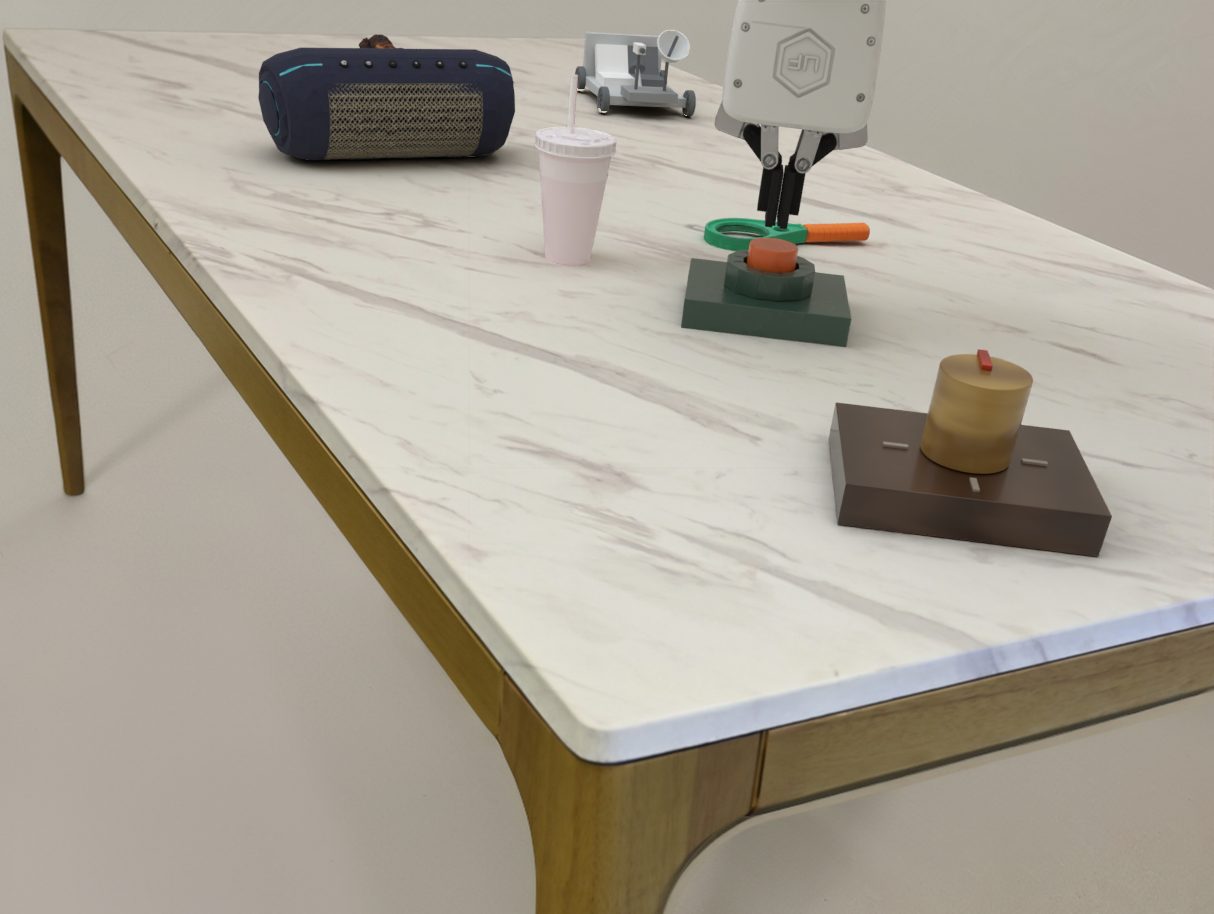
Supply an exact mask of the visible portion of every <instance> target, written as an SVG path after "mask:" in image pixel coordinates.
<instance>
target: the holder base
mask: <svg viewBox="0 0 1214 914" xmlns="http://www.w3.org/2000/svg"><path fill="white" fill-rule="evenodd" d="M927 415H928V412H919V411H913V410H912V411H911V410H905V409H903V410H902V409H895V408H887V407H877V406H869V405H861V404H852V403H844V402H835V404H834V409H833V415H832V418H831V419H832V420H831V425H830V429H829V435H828V447H829V448H828V449H829V458H830V468H831V476H832V477H831V478H832V487H833V496H834V497H833V498H834V505H835V517H836V524H837V525H839V526H847V527H854V528H863V529H871V530H880V531H887V532H894V533H895V532H897V533H903V534H904V533H905V534H911V535H919V536H927V537H935V538H943V539H951V540H952V539H953V540H960V541H967V542H976V543H984V544H991V545H1001V546H1008V547H1014V548H1015V547H1016V548H1024V549H1032V550H1038V551H1039V550H1040V551H1046V552H1047V551H1048V552H1055V553H1064V554H1072V555H1079V556H1080V555H1081V556H1089V557H1097V558H1098V557H1099V556H1100V553H1101V550H1102V547H1103V544H1104V542H1105V539H1106V535H1107V532H1108V529H1109V527H1110V524H1111V521H1112V518H1113V515H1112V513H1111V511H1110V509H1109V507H1108V505H1107V503H1106V501H1105V499H1104V498H1103V495H1102V493H1101V491H1100V489H1099V487H1098V485H1097V483H1096V481H1095V479H1094V476H1093V475H1092V473H1091V471H1090V468H1089V467H1088V465H1087V463H1086V460H1085V458H1084V456H1083V455H1082V453H1081V451H1080V448H1079V447H1078V445H1077V442H1076V441H1075V439H1074V436H1073V435H1072V433H1071V431H1070V430H1069V429H1061V428H1053V427H1044V426H1037V425H1027V424H1021V427H1020V430H1019V434H1018V437H1017V441H1016V444H1015V448H1014V451H1013V455H1012V458H1011V462H1010V465H1009V466H1008V467H1007V468H1006V469H1005V470H1003V471H1000V472H997V473H991V474H974V473H966V472H961V471H957V470H953V469H950V468H947V467H944V466H942V465H939V464H937V463H935V462H934V461H932V460H930V459H929V458H928V457H927V456H925V455H924V453H923V452H922V450H921V447H920V444H921V440H922V436H923V432H924V428H925V423H926V419H927Z"/></svg>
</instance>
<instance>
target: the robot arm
mask: <svg viewBox="0 0 1214 914" xmlns="http://www.w3.org/2000/svg"><path fill="white" fill-rule="evenodd" d="M886 3H887V0H737V2H736V7H735V10H734V14H733V15H734V16H733V22H732V27H731V32H730V38H729V43H728V48H727V56H726V60H725V66H724V73H723V81H722V83H723V84H722V94H721V95H722V96H721V97H722V98H721V102H720V105H719V107H718V110H717V112H716V114H715V118H714V127H715V129H716V130H717V131H719V132H722V133H724V134H726V135H729V136H732V137H734V138H737V139H741V140H743V141H745V143H746V144H747V145H748V147H749V148H750V149H751V151H752V152H753V154H754V155H755V156H756V158H757V160H759V162H760V164H761V166H762V173H761V179H760V186H759V192H758V193H759V194H758V199H757V206H756V211H757V212H763V213H764V212H765V214H764V220H765V227H771V228H772V226H775V224H776V222H777V226H779V227H780V229H787V226H788V223H789V221H790V220H789V219H790V216H799V213H800V208H801V202H802V197H803V191H804V185H805V179H806V173H809V172H810V171H811V169H812V167H814V165H816V164H818V163H819V162H820V161H821V160H823V159H824V158H825V157H826V156H828V155H829V154H831V153H832V152H833V151H843V150H851V149H857V148H863V147H865V146H866V145H867V143H868V137H869V136H868V121H869V119H870V115H871V111H872V107H873V102H874V96H875V91H876V85H877V78H878V74H879V73H878V72H879V67H880V58H881V52H882V44H883V36H884V27H885V18H886ZM779 128H785V129H786V128H788V129H796V130H801V131H800V134H799V137H798V141H797V144H796V147H795V150H794V153H793V154H791V155H790V156H789V159H788V162H787V164H783V155H782V154H781V153H780V151H779V138H780V137H779V136H780V135H779V133H780V131H779Z"/></svg>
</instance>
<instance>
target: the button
mask: <svg viewBox="0 0 1214 914" xmlns="http://www.w3.org/2000/svg"><path fill="white" fill-rule="evenodd" d="M756 238H757V239H753V240H751V241H750V244H749V251H748V258H747V265H749V266H750V267H753V268H756V269H760V270H763V271H771V272H779V273H781V272H793V271H795V266H796V260H797V256H798V254H799V246H798V245H797V244H793V243H791V242H788V241H785V240H781V239H775V238H758V237H756Z"/></svg>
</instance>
